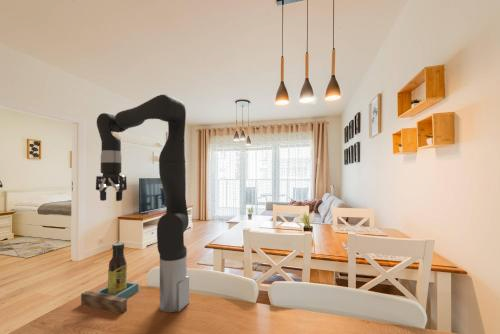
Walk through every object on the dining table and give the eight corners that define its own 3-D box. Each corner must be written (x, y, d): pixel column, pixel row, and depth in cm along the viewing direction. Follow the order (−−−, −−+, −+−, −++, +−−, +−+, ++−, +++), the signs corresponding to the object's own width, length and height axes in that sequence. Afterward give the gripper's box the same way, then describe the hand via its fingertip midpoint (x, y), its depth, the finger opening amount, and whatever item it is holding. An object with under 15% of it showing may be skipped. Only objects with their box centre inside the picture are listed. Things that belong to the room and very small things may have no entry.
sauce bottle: (117, 301, 86) (118, 247, 87) (103, 299, 88) (103, 246, 88) (130, 292, 93) (130, 242, 93) (116, 291, 94) (117, 241, 95)
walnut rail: (126, 310, 81) (126, 298, 81) (121, 313, 79) (121, 301, 79) (86, 301, 86) (86, 290, 87) (81, 304, 85) (81, 293, 85)
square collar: (138, 291, 94) (138, 283, 94) (114, 305, 84) (114, 297, 84) (119, 287, 97) (119, 280, 97) (94, 301, 87) (94, 293, 87)
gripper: (131, 161, 100) (131, 200, 99) (106, 162, 104) (106, 199, 104) (116, 161, 92) (116, 202, 92) (90, 162, 97) (89, 201, 96)
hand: (110, 200), depth 98 cm, fingers open, 8 cm apart
